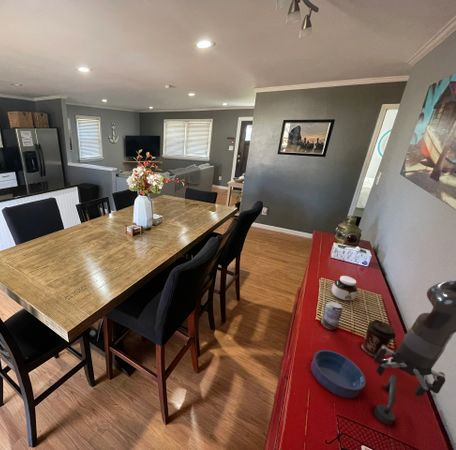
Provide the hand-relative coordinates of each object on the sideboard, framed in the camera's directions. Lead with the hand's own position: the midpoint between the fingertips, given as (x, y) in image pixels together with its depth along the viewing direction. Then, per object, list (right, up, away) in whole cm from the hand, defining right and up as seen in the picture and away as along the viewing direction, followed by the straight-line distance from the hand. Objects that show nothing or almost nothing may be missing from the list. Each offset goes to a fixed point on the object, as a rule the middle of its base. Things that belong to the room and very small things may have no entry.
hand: (397, 383), depth 76 cm
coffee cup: (+14, -2, +24) cm, 28 cm away
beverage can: (+4, +3, +36) cm, 36 cm away
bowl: (-11, -6, +13) cm, 18 cm away
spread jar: (+27, +11, +57) cm, 64 cm away
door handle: (0, -10, +4) cm, 11 cm away
